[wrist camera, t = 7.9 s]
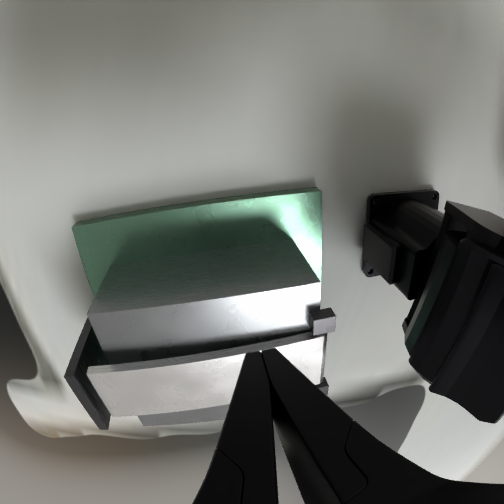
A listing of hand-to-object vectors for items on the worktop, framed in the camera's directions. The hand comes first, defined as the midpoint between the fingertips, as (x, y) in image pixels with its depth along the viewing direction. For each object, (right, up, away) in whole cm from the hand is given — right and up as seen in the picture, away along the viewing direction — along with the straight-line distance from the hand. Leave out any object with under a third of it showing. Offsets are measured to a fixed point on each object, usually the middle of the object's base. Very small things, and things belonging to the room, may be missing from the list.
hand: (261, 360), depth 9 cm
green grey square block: (-3, -1, +15) cm, 15 cm away
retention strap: (-3, -4, +8) cm, 10 cm away
